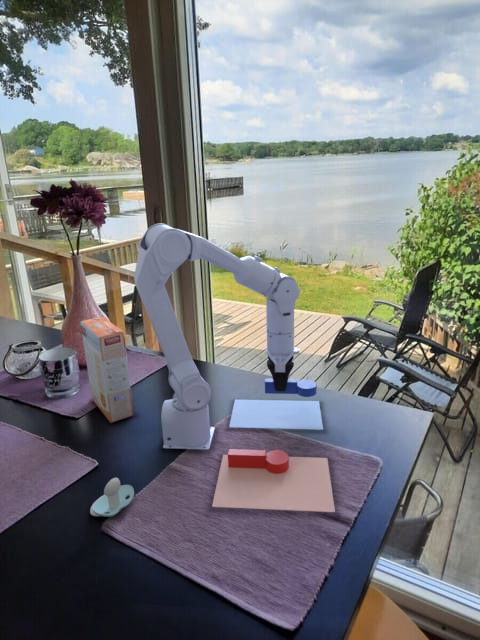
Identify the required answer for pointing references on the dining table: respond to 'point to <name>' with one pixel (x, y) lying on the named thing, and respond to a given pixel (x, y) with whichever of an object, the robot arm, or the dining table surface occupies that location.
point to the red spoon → (259, 460)
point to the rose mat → (276, 487)
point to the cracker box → (107, 368)
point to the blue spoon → (293, 387)
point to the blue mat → (276, 414)
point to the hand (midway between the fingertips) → (280, 387)
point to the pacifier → (112, 499)
